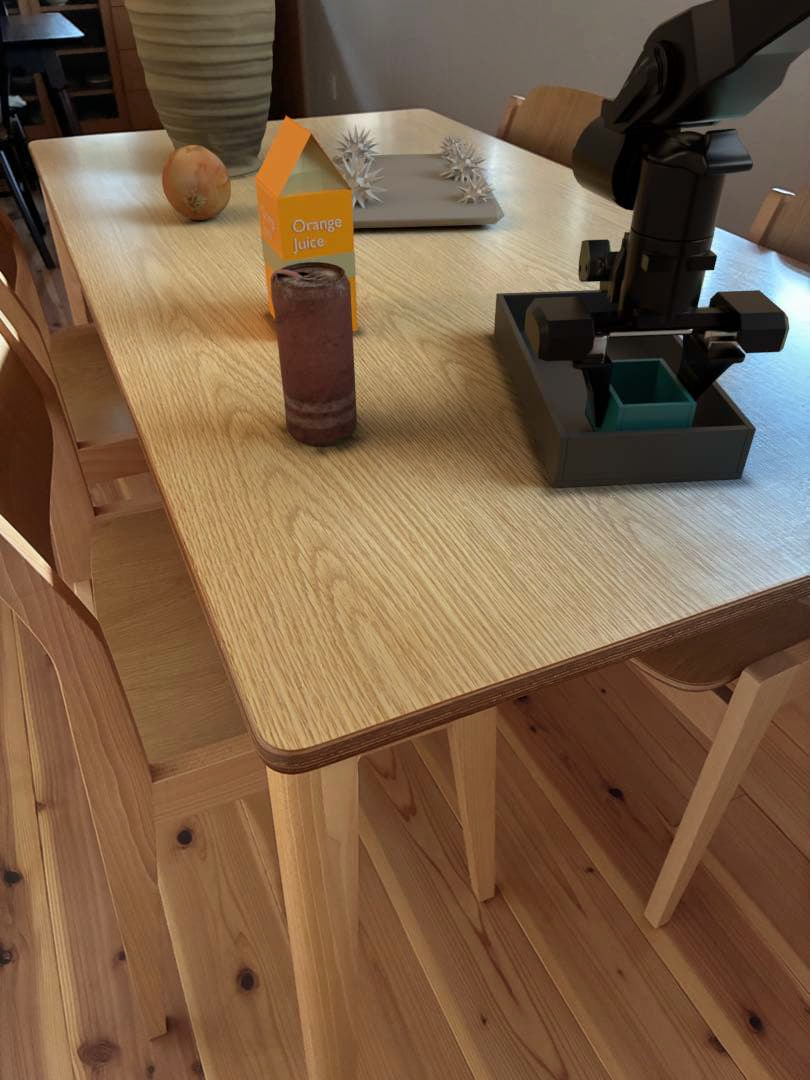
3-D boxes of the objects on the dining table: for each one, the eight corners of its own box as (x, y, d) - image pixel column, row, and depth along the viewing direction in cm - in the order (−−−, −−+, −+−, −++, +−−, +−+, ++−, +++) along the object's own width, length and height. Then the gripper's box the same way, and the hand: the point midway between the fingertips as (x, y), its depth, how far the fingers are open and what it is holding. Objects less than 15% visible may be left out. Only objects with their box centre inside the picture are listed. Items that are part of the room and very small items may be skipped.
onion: (231, 206, 125) (222, 135, 119) (238, 225, 117) (228, 151, 111) (167, 211, 123) (154, 140, 117) (170, 231, 115) (156, 155, 109)
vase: (153, 159, 152) (143, -34, 137) (280, 173, 153) (284, -17, 138) (113, 175, 131) (96, -51, 116) (261, 191, 132) (263, -31, 117)
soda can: (289, 413, 73) (272, 258, 65) (358, 413, 73) (351, 258, 65) (280, 448, 68) (261, 286, 60) (355, 448, 68) (346, 286, 60)
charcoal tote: (632, 329, 87) (639, 288, 84) (741, 478, 64) (756, 428, 62) (493, 335, 86) (496, 293, 84) (554, 487, 64) (560, 437, 61)
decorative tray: (504, 231, 114) (509, 155, 108) (322, 236, 113) (317, 160, 107) (472, 169, 142) (474, 106, 136) (325, 173, 140) (321, 109, 134)
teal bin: (651, 410, 70) (662, 357, 67) (683, 459, 64) (697, 403, 61) (584, 413, 70) (592, 360, 67) (609, 463, 64) (619, 407, 61)
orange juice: (290, 342, 85) (269, 135, 73) (268, 312, 92) (246, 117, 79) (359, 330, 88) (351, 128, 75) (333, 302, 94) (322, 111, 82)
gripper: (753, 194, 64) (708, 374, 73) (519, 200, 63) (505, 383, 72) (821, 238, 55) (760, 437, 64) (551, 247, 54) (530, 448, 63)
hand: (634, 423), depth 66 cm, fingers closed on teal bin, 6 cm apart
